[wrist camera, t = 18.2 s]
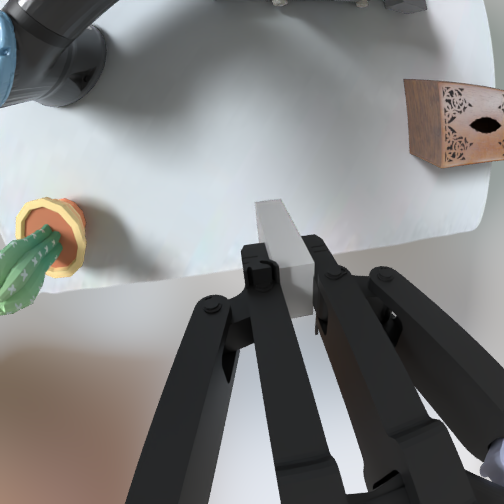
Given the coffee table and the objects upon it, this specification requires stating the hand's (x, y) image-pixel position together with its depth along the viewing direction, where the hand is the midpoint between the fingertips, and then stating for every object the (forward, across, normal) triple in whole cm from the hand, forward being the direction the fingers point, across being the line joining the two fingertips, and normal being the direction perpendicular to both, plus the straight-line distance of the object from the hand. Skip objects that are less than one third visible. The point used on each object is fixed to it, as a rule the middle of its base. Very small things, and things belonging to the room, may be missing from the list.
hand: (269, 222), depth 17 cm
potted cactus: (+31, -34, -8) cm, 46 cm away
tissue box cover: (+31, +44, +4) cm, 54 cm away
